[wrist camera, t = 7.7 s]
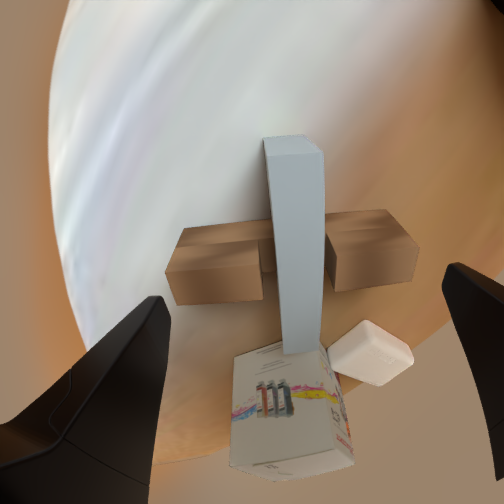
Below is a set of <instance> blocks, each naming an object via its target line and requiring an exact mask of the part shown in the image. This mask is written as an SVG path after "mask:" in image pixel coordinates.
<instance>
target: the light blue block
mask: <svg viewBox="0 0 504 504" xmlns="http://www.w3.org/2000/svg"><path fill="white" fill-rule="evenodd" d="M263 142H264V151H265V160H266V169H267V179H268V188H269V198H270V208H271V215H272V223H273V233H274V244H275V255H276V267H277V271H276V274H277V286H278V299H279V310H280V321H281V331H282V342H283V353H284V354H294V353H303V352H312V351H319V339H320V327H321V313H322V297H323V276H324V241H325V189H324V155H323V152H322V151H321V150H320V149H319V148H318V147H317V146H316V145H315V144H314V143H312V142H311V141H310V140H309V139H308V138H307V137H306V136H304V135H293V136H280V137H268V138H263Z"/></svg>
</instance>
